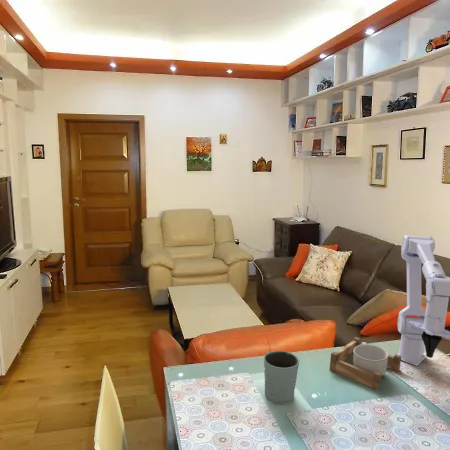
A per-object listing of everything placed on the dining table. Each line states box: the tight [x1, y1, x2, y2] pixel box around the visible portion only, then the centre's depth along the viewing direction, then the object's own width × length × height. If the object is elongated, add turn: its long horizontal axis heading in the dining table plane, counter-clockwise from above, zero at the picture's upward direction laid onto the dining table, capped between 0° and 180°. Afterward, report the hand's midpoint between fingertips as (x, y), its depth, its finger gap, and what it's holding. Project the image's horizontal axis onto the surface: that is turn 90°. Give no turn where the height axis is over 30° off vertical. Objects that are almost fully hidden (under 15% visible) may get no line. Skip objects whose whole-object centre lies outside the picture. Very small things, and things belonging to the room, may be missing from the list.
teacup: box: [352, 341, 389, 376], centre depth 142 cm, size 14×11×8 cm
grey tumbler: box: [263, 350, 300, 405], centre depth 126 cm, size 10×10×12 cm
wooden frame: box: [329, 336, 402, 391], centre depth 143 cm, size 18×16×6 cm
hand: (429, 356), depth 134 cm, fingers closed
